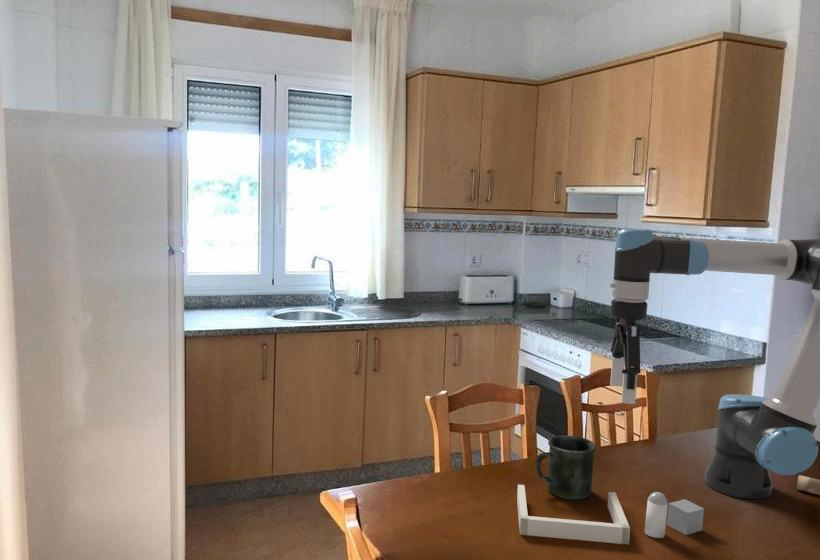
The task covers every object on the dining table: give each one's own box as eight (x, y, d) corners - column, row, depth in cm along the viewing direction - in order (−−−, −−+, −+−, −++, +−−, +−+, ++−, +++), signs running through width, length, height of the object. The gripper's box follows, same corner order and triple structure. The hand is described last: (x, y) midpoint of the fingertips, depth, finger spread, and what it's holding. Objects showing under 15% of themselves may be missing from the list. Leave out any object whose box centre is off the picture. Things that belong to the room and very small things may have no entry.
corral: (614, 507, 155) (615, 492, 155) (628, 544, 139) (630, 528, 138) (517, 498, 158) (517, 484, 157) (519, 534, 141) (520, 518, 141)
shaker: (661, 531, 145) (666, 490, 144) (666, 539, 141) (670, 497, 141) (642, 528, 145) (646, 488, 145) (646, 536, 141) (650, 494, 141)
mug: (601, 499, 159) (605, 450, 158) (544, 504, 156) (547, 454, 154) (579, 480, 170) (582, 434, 168) (525, 484, 166) (527, 437, 164)
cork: (798, 486, 171) (821, 492, 168) (796, 491, 168) (819, 497, 165) (799, 472, 170) (822, 478, 167) (797, 478, 167) (821, 483, 164)
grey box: (701, 530, 146) (704, 508, 145) (685, 535, 144) (687, 513, 143) (682, 520, 150) (684, 499, 150) (666, 525, 148) (668, 503, 147)
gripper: (602, 290, 161) (596, 378, 164) (622, 307, 137) (614, 409, 139) (635, 292, 160) (628, 380, 163) (661, 309, 136) (652, 412, 138)
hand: (622, 394), depth 151 cm, fingers open, 13 cm apart
